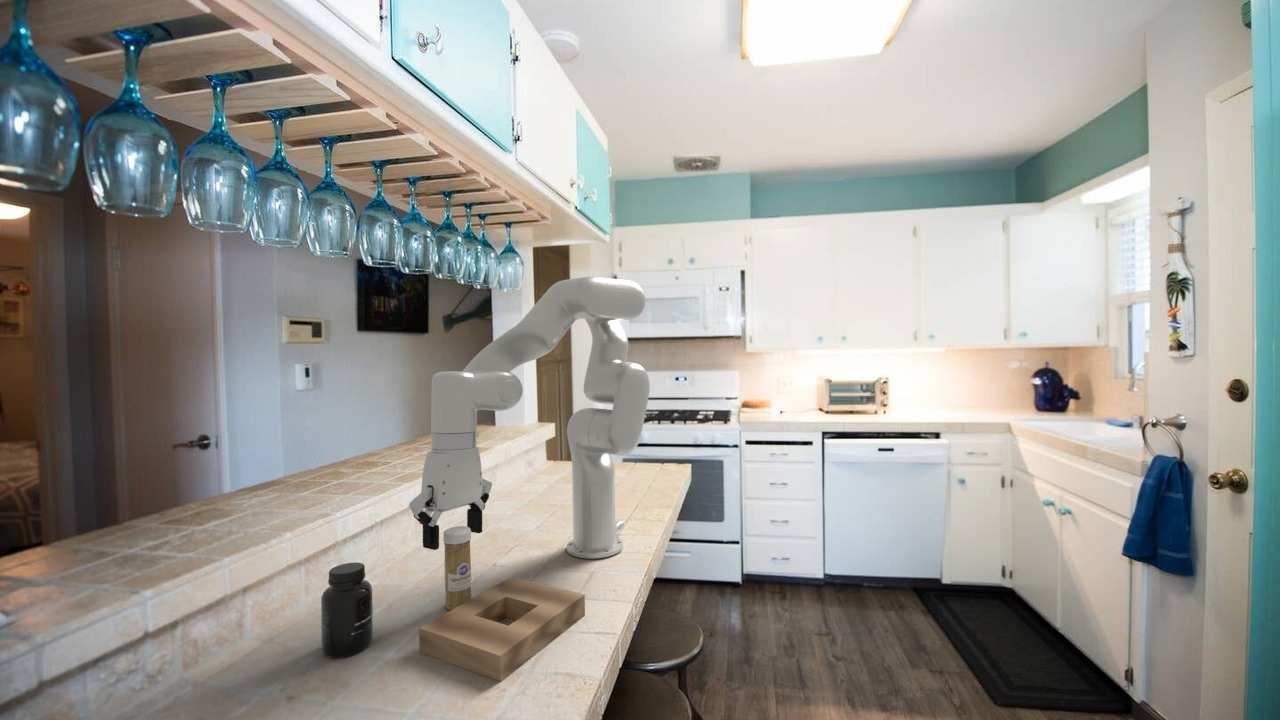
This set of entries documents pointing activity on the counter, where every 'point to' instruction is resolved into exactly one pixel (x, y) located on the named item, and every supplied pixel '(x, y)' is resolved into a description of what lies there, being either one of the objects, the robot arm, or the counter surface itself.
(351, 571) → the supplement bottle
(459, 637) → the spice holder
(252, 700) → the counter surface
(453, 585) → the sprinkles bottle
